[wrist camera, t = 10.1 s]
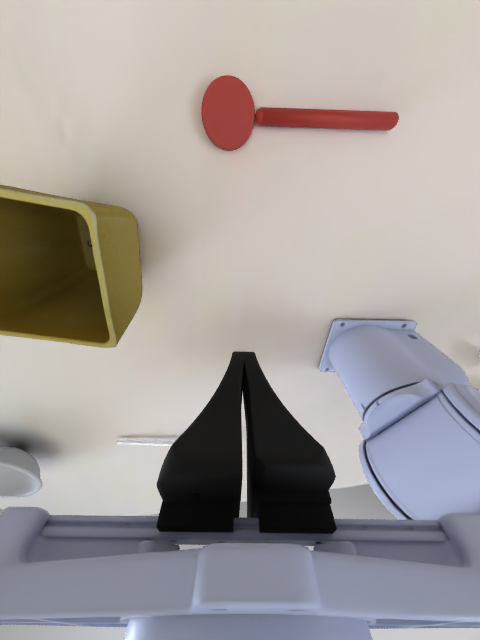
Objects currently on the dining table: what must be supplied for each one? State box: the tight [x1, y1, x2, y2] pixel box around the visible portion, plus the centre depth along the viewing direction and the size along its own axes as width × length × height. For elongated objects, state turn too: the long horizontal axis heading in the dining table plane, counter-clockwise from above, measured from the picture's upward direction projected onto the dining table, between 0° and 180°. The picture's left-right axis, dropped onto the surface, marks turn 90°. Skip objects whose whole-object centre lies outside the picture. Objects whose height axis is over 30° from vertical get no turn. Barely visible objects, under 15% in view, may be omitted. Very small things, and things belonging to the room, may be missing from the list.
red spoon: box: [202, 76, 399, 151], centre depth 14 cm, size 14×4×1 cm, turn 89°
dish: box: [0, 446, 42, 498], centre depth 36 cm, size 18×14×5 cm
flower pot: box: [0, 185, 142, 348], centre depth 15 cm, size 9×9×9 cm
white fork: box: [117, 439, 176, 446], centre depth 35 cm, size 3×20×2 cm, turn 89°
